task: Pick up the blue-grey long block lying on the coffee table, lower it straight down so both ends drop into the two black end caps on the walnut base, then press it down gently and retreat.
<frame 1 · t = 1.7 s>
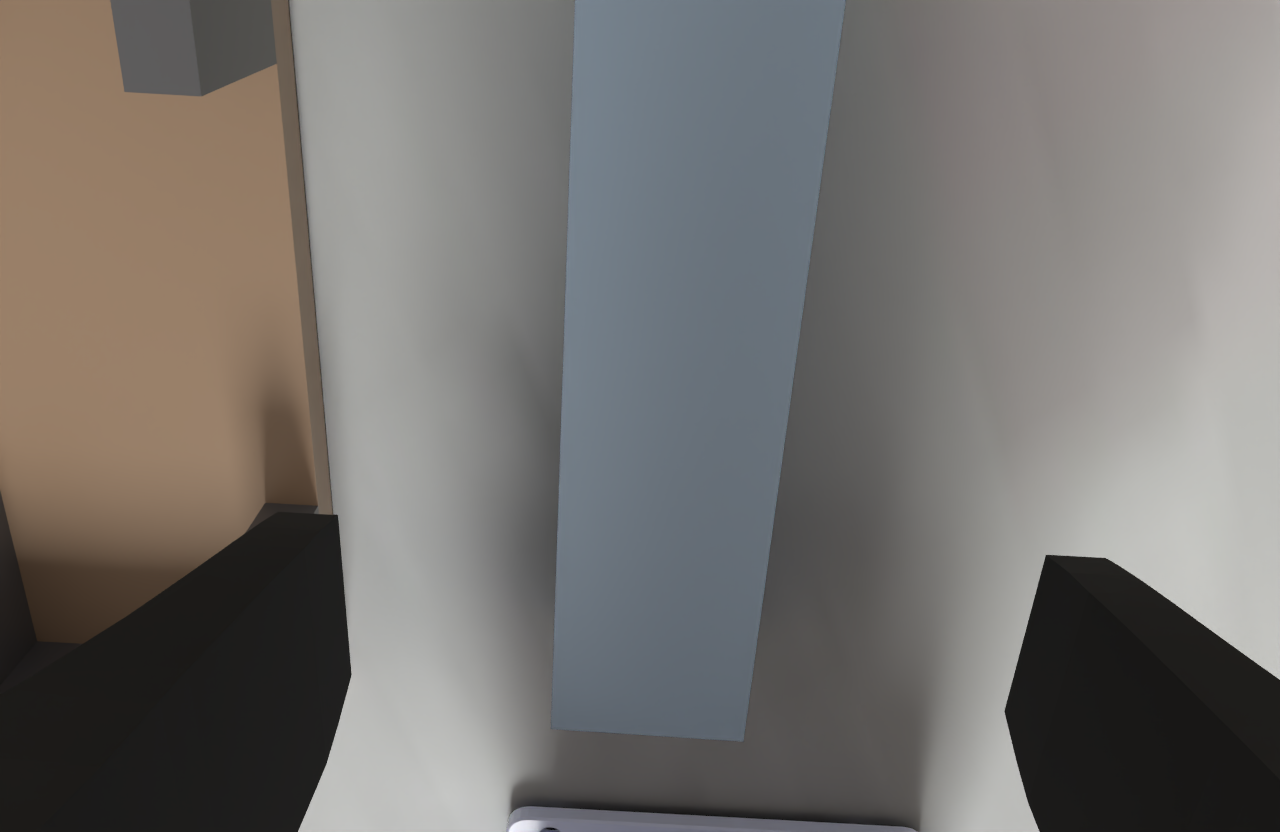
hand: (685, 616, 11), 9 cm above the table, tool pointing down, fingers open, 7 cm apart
bench frame: (117, 279, 19), on the table
blue-grey long block: (675, 305, 19), on the table
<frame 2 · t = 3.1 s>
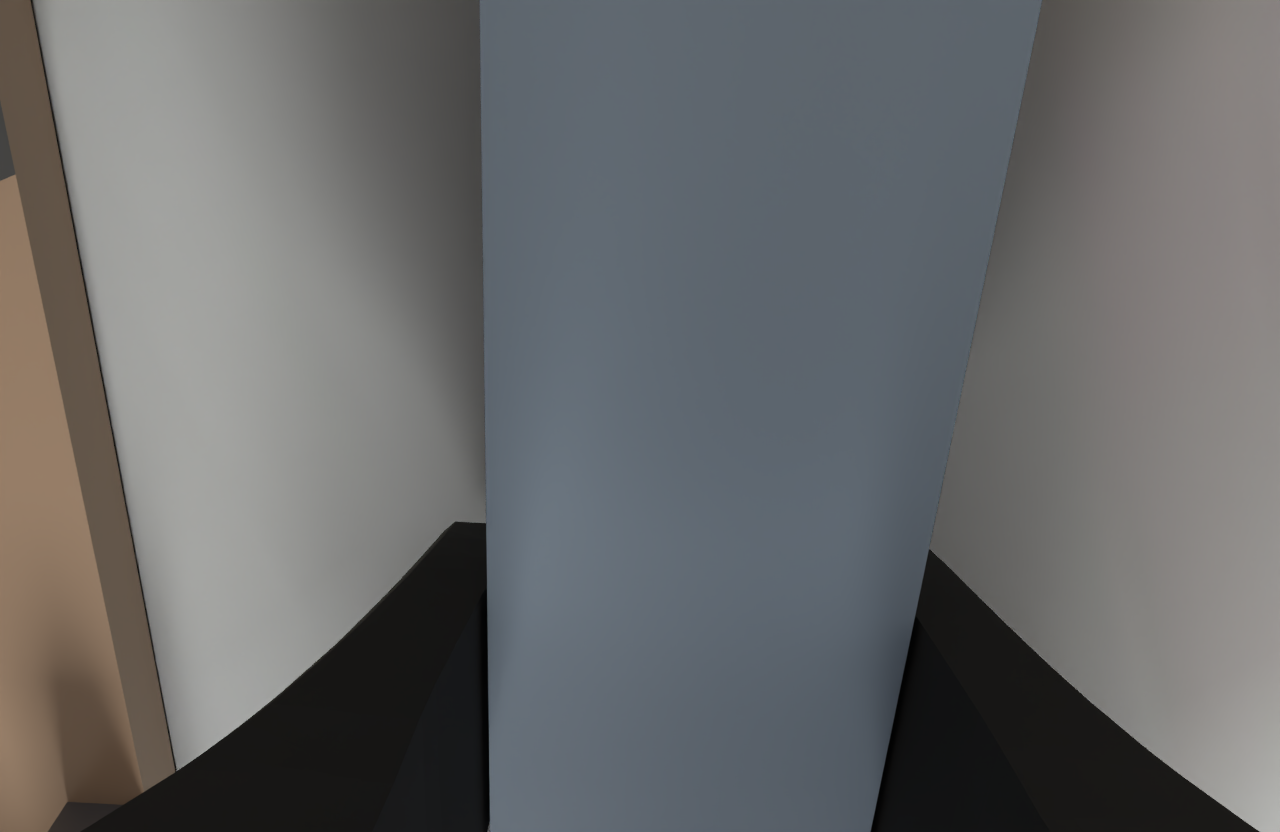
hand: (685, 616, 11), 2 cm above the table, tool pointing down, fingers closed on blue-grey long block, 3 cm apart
blue-grey long block: (681, 528, 12), on the table, touching gripper
when the fingers open (4 cm above the table, at t = 6.6 s): blue-grey long block stays where it is, resting on bench frame.
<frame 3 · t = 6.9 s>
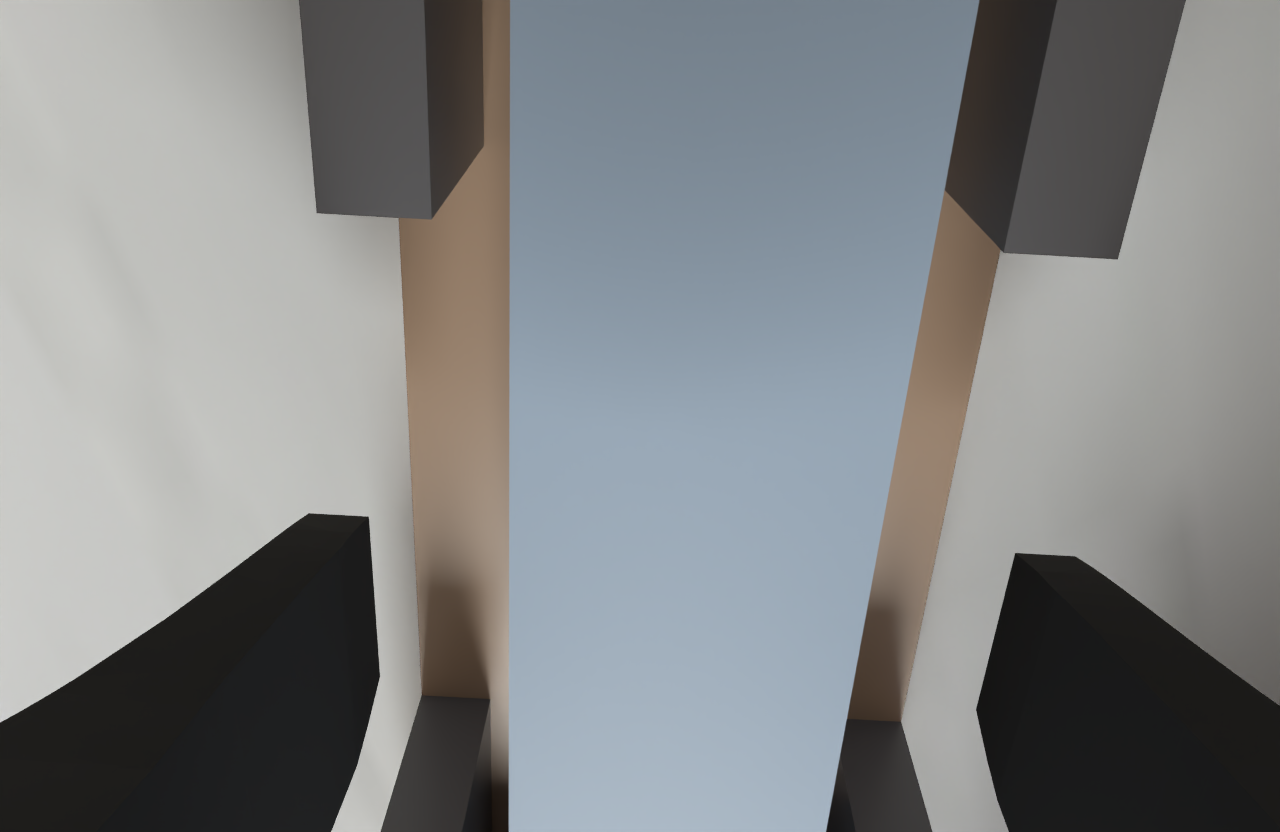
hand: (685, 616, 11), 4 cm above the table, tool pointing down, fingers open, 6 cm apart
bench frame: (680, 440, 14), on the table
blue-grey long block: (679, 472, 14), point 1 cm above the table, touching bench frame
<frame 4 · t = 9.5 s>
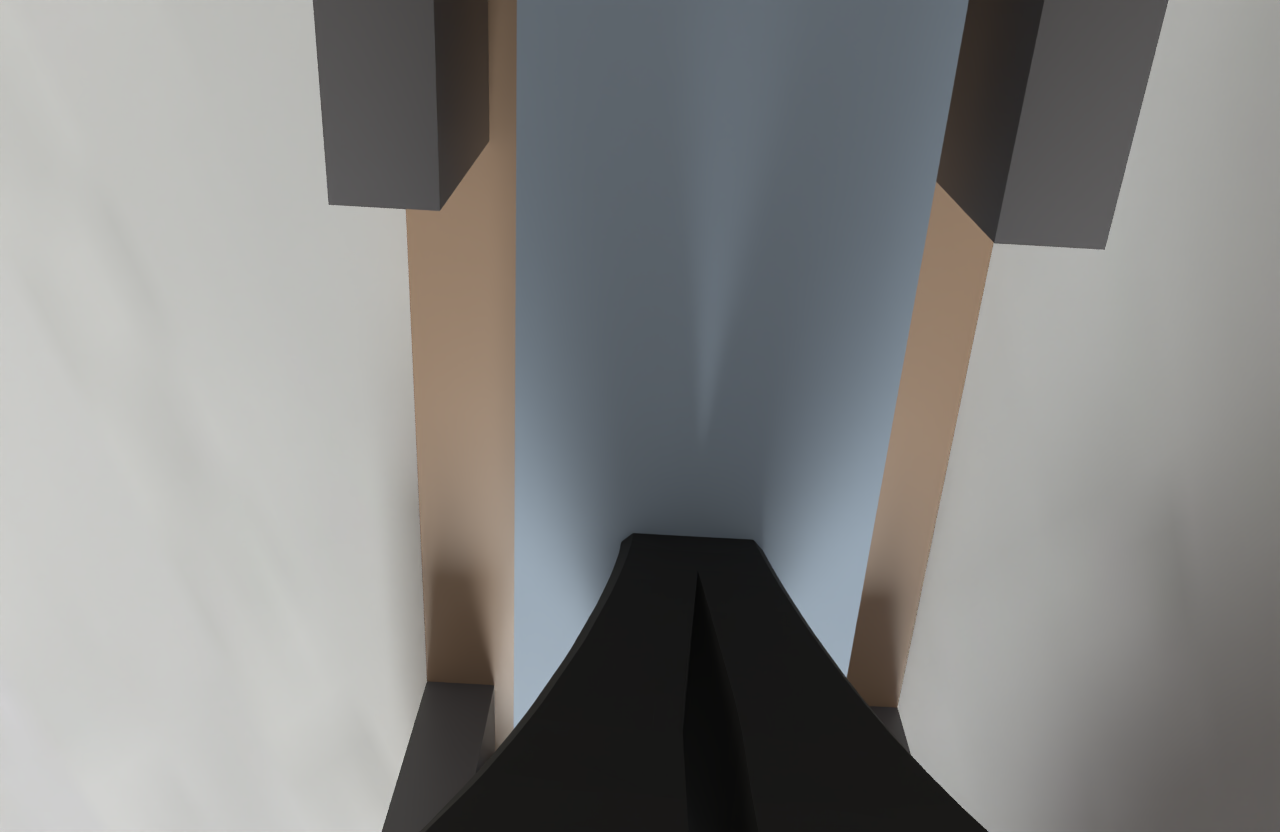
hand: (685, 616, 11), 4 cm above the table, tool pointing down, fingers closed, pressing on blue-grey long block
bench frame: (680, 430, 15), on the table
blue-grey long block: (679, 461, 14), point 1 cm above the table, touching bench frame, gripper
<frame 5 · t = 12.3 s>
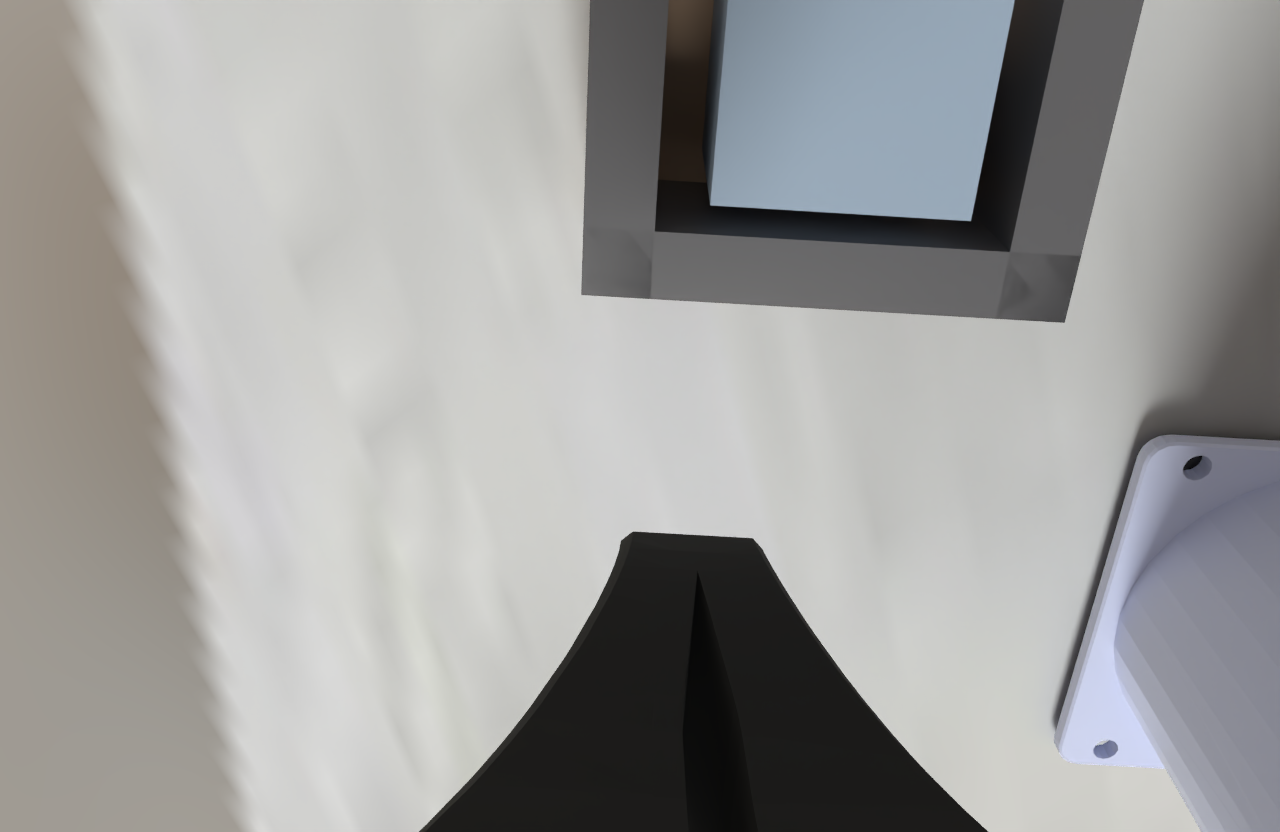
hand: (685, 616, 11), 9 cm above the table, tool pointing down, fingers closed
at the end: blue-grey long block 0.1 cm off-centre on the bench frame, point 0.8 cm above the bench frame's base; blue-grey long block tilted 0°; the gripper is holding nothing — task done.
